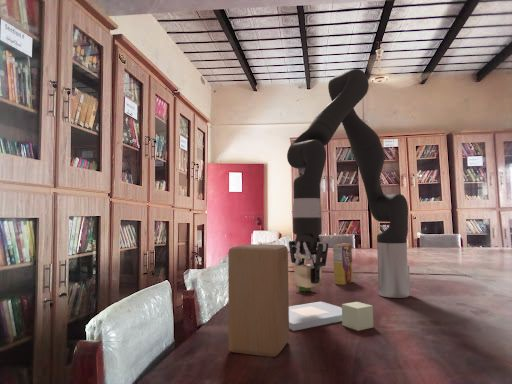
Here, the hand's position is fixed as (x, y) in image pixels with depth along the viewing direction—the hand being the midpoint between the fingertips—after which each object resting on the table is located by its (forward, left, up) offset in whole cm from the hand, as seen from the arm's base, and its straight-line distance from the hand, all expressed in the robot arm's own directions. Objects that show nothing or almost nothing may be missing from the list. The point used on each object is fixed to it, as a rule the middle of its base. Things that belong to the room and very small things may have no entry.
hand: (308, 281), depth 94 cm
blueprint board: (0, 0, -9) cm, 9 cm away
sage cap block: (-5, +12, -9) cm, 16 cm away
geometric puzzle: (-20, -27, -9) cm, 35 cm away
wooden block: (+22, +12, -9) cm, 27 cm away
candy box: (-43, -32, -9) cm, 54 cm away
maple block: (0, 0, -1) cm, 1 cm away
